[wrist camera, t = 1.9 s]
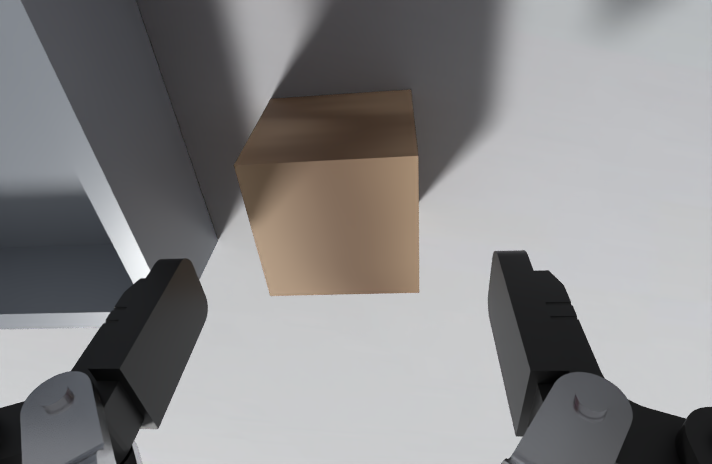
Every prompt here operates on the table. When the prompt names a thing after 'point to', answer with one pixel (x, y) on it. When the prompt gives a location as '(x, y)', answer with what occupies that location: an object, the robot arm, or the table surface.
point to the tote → (87, 164)
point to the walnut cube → (334, 193)
